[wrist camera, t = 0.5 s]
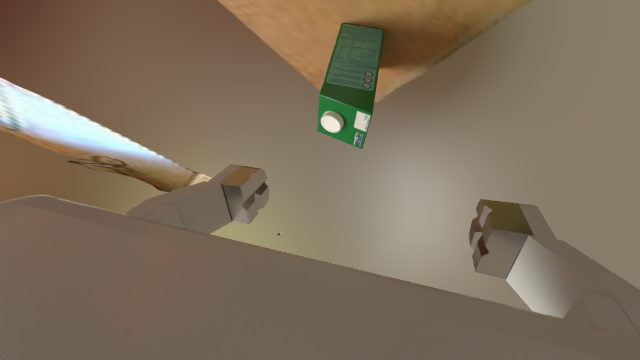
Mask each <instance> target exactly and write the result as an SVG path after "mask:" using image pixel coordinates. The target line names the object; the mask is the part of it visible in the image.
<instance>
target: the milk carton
mask: <svg viewBox="0 0 640 360" xmlns="http://www.w3.org/2000/svg"><path fill="white" fill-rule="evenodd" d="M383 38H384V30H381V29H375V28H368V27H362V26H356V25H350V24H343V23H342V24H341V27H340V30H339V34H338V37H337V40H336V43H335V46H334V50H333V53H332V56H331V59H330V62H329V65H328V69H327V72H326V75H325V78H324V81H323V85H322V88H321V91H320V94H319V112H318V130H317V131H318V132H321V133H323V134H326V135H328V136H331V137H333V138H336V139H338V140H341V141H343V142H346V143H348V144H351V145H353V146H356V147H358V148H361V149H362V148H363V144H364V141H365V137H366V134H367V131H368V127H369V124H370V120H371V117H372V114H373V107H374V100H375V93H376V86H377V79H378V72H379V65H380V58H381V51H382V44H383Z"/></svg>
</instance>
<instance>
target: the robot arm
mask: <svg viewBox="0 0 640 360" xmlns="http://www.w3.org/2000/svg"><path fill="white" fill-rule="evenodd" d="M266 179H267V177H266V172H265V171H264V170H263V169H260V168H254V167H248V166H242V165H229V166H228V167H226V168H225V169H224V170H223V171H221V172H220V173H219V174H217V175H216V176H215V177H213V178H212V179H211V180H209V181H208V182H206V181H204V182H201V183H198V184H194V185H191V186H188V187H185V188H181V189H178V190H175V191H172V192H168V193H165V194H162V195H159V196H155V197H152V198H149V199H146V200H145V201H143V202H142V203H140V204H139V205H137V206H136V207H134V208H133V209H131V210H130V211H128V212H126V213H125V214H122V213H118V212H114V211H110V210H105V209H101V208H97V207H92V206H89V205H85V204H80V203H76V202H72V201H68V200H64V199H60V198H56V197H52V196H47V195H33V196H27V197H21V198H16V199H11V200H6V201H2V202H0V360H640V290H639V289H638V288H636V287H635V286H633V285H632V284H630V283H629V282H627V281H626V280H624V279H622V278H621V277H619V276H618V275H616V274H615V273H613V272H611V271H610V270H608V269H607V268H605V267H604V266H602V265H600V264H599V263H597V262H596V261H594V260H593V259H591V258H590V257H588V256H586V255H585V254H583V253H582V252H580V251H579V250H577V249H576V248H574V247H573V246H571V245H569V244H568V243H566V242H565V241H562V240H557V238H556V237H555V235H554V233H553V232H552V230H551V228H550V227H549V225H548V224H547V222H546V220H545V218H544V217H543V215H542V213H541V212H540V210H539V208H538V207H537V206H535V205H528V204H519V203H509V202H500V201H492V200H482V199H481V200H480V201H479V203H478V205H477V208H476V211H477V215H478V216H477V217H476V218H474V219H473V220H472V223H471V227H470V233H469V241H470V246H471V247H472V248H473V249H474V253H473V255H472V257H473V262H474V267H475V272H478V273H483V274H487V275H491V276H495V277H499V278H504V279H506V281H507V282H508V283H509V284H510V285H511V287H512V288H513V289H514V290H515V291H516V292H517V293H518V295H519V296H520V297H521V298H522V299H523V300H524V301H525V303H526V304H527V305H528V306H529V307H530V308H531V309H532V311H529V310H525V309H521V308H517V307H512V306H508V305H504V304H500V303H496V302H491V301H487V300H482V299H479V298H475V297H470V296H466V295H462V294H457V293H454V292H449V291H445V290H441V289H437V288H433V287H428V286H424V285H420V284H416V283H411V282H407V281H403V280H399V279H395V278H391V277H386V276H382V275H378V274H374V273H370V272H366V271H361V270H357V269H353V268H349V267H344V266H340V265H336V264H332V263H328V262H323V261H319V260H315V259H311V258H306V257H302V256H298V255H294V254H290V253H286V252H281V251H277V250H273V249H269V248H265V247H261V246H256V245H252V244H248V243H244V242H240V241H235V240H231V239H227V238H222V237H219V236H214V235H210V233H212V232H214V231H216V230H217V229H219V228H221V227H223V226H225V225H227V224H228V223H230V222H232V221H236V222H242V223H247V224H250V223H251V222H252V220H253V219H254V218H255V217H256V216H257V214H258V211H257V210H259V209H261V208H263V207H264V206H265V205H266V203H267V201H268V198H269V188H268V186H267V185H266V183H265V180H266Z"/></svg>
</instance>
